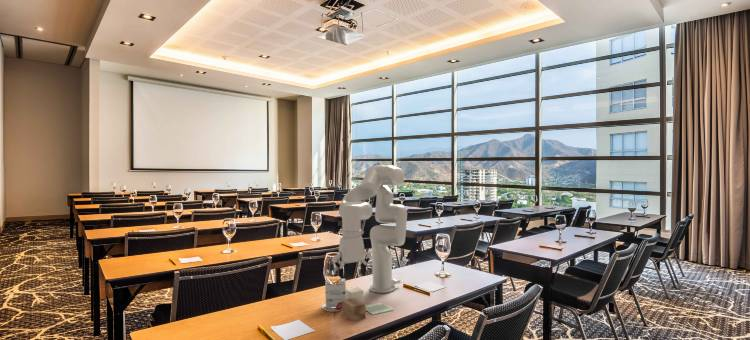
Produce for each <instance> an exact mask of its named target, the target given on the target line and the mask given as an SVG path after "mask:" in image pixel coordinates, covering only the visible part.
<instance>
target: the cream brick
mask: <svg viewBox="0 0 750 340" xmlns="http://www.w3.org/2000/svg"><path fill="white" fill-rule="evenodd" d="M350 298H357V299H358V300H360V301H362V302H363V303H365V302H364V301H365V299H364V298H365V296H364V290H363V289H362V288H361V287H358V286H356V287H350V288H346V299H350Z"/></svg>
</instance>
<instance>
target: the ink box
mask: <svg viewBox="0 0 750 340" xmlns="http://www.w3.org/2000/svg"><path fill="white" fill-rule="evenodd" d="M341 279H342V278H341ZM328 282H329V281H327V279H326V280H325V282H324V283H325V285H324V286H325V287H324V288H325V309H326V308H328V309H332V308H331V307H336V308H335V309H342V300H346V289H347V288H346V284H347V283H346V278H343V279H342V280H341V281H339V282H338V283H337V284H336V285H332V284H330V282H329V283H328Z"/></svg>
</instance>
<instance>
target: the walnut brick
mask: <svg viewBox="0 0 750 340" xmlns="http://www.w3.org/2000/svg"><path fill="white" fill-rule="evenodd" d="M366 306H367V305H366V303H365V302H364V303H363V302H362V301H360V300H358V299H357V298H350V299H346V300H342V308H341V309H342V310H341V311H342V315H343V316H344V317H346V318H347V319H349V320H350V321H351V322H356V321H360V320H365V319H366V318H367V317H366V312H367V311H366Z"/></svg>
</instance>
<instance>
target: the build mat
mask: <svg viewBox="0 0 750 340" xmlns="http://www.w3.org/2000/svg"><path fill="white" fill-rule="evenodd" d="M393 311H394V308H391V306H388V305H387V304H385V303H383V302H378V303H372V304H368V305H366V312H367V313H369V314H370V315H372V316H375V315H379V314H383V313H388V312H393Z"/></svg>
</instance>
